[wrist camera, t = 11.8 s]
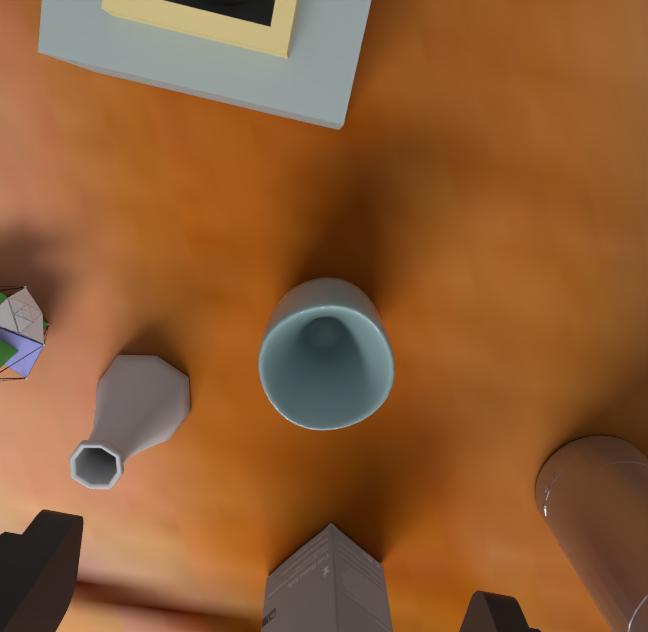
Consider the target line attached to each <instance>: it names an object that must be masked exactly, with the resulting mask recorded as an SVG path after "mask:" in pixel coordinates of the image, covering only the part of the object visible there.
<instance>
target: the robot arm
mask: <svg viewBox="0 0 648 632" xmlns="http://www.w3.org/2000/svg"><path fill="white" fill-rule="evenodd" d="M535 498H536V502H537V506H538V509H539V511H540V512H541V514H542V516H543V518H544V519H545V521H546V523H547V524H548V526H549V528H550V529H551V531H552V533H553V534H554V536H555V538H556V539H557V541H558V543H559V545H560V546H561V548H562V549H563V551H564V553H565V554H566V556H567V558H568V559H569V561H570V563H571V564H572V566H573V568H574V569H575V571H576V573H577V574H578V576H579V577H580V579H581V581H582V582H583V584H584V586H585V587H586V589H587V591H588V592H589V594H590V596H591V597H592V599H593V600H594V602H595V604H596V605H597V607H598V609H599V610H600V612H601V614H602V615H603V617H604V619H605V620H606V622H607V624H608V625H609V627H610V628H611V630H612V632H648V458H647V457H646V456H645V455H644V454H643V453H641V452H640V451H639V450H638V449H637V448H636V447H634V446H633V445H632V444H631V443H629V442H627V441H624V440H622V439H620V438H616V437H611V436H591V437H585V438H581V439H578V440H576V441H573V442H571V443H569V444H567V445H565V446H564V447H562V448H560V449H559V450H558V451H557V452H556V453H554V454H553V455H552V456H551V457H550V458H549V459H548V461H547V462H546V463H545V464H544V466H543V468H542V469H541V471H540V473H539V475H538V479H537V483H536V486H535ZM82 532H83V517H82V516H77V515H72V514H66V513H61V512H56V511H50V510H42V511H41V512H39V514H38V515H37V516H36V517H35V519H34V520H33V521H32V522H31V524H30V525H29V526H28V528H27V529H26V530H25V532H24V533H23V534H22V535H20V534H15V533H9V532H4V533H2V534H1V535H0V632H56V630H57V628H58V626H59V624H60V623H61V621H62V619H63V617H64V615H65V613H66V611H67V609H68V607H69V604H70V601H71V599H72V596H73V592H74V589H75V585H76V580H77V573H78V565H79V556H80V548H81V540H82ZM459 632H541V631H540V630H539V629H534V628H529V626H528V624H527V622H526V619H525V617H524V615H523V612H522V610H521V608H520V606H519V603H518V602H517V600H516V599H515V598H514V597H511V596H505V595H500V594H494V593H489V592H483V591H476V592H475V593H474V594H473V596H472V598H471V601H470V603H469V606H468V609H467V612H466V614H465V617H464V620H463V623H462V625H461V628H460V631H459Z"/></svg>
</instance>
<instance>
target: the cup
mask: <svg viewBox="0 0 648 632" xmlns="http://www.w3.org/2000/svg"><path fill="white" fill-rule="evenodd" d="M258 367H259V375H260V379H261V382H262V386H263V389H264V391H265V393H266V395H267V397H268V399H269V401H270V402H271V403H272V405H273V406H274V407H275V409H276V410H277V411H278V412H279V413H280V414H281V415H282V416H283V417H285V418H286V419H287V420H289V421H290V422H292V423H294V424H296V425H297V426H301V427H304V428H307V429H312V430H334V429H339V428H343V427H348V426H350V425H353V424H355V423H358V422H360V421H362V420H363V419H365V418H367V417H368V416H370V415H372V414H373V413H374V412H375V411H376V410H377V409H378V408H379V407H380V406H381V405H382V404H383V403H384V401H385V400H386V398H387V397H388V395H389V393H390V390H391V388H392V385H393V379H394V373H395V367H394V355H393V351H392V347H391V343H390V339H389V336H388V334H387V331H386V328H385V326H384V324H383V321H382V319H381V317H380V315H379V313H378V311H377V309H376V307H375V306H374V304H373V303H372V301H371V300H370V298H369V297H368V296H367V295H366V294H365V293H364V292H363V291H362V290H361V289H360V288H359V287H357V286H356V285H354V284H352V283H351V282H349V281H346V280H343V279H340V278H332V277H325V278H317V279H313V280H309V281H306V282H304V283H302V284H299V285H297V286H296V287H294V288H293V289H291V290H290V291H288V292H287V293H286V294H285V295H284V296H283V297H282V298H281V299H280V300H279V301H278V303H277V304H276V306H275V307H274V309H273V311H272V312H271V314H270V316H269V318H268V321H267V324H266V327H265V330H264V333H263V337H262V340H261V343H260V347H259V357H258Z"/></svg>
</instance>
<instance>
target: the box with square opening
mask: <svg viewBox="0 0 648 632" xmlns="http://www.w3.org/2000/svg"><path fill="white" fill-rule="evenodd" d="M370 4H371V0H246V1H244V2H242V3H240V4H236V5H231V6H220V5H215V4H212V3H209V2H207V1H205V0H42V7H41V20H40V34H39V47H38V52H39V53H42V54H45V55H48V56H51V57H54V58H57V59H60V60H62V61H65V62H68V63H71V64H74V65H77V66H80V67H82V68H85V69H88V70H91V71H94V72H97V73H101V74H105V75H109V76H113V77H117V78H122V79H126V80H130V81H134V82H139V83H143V84H147V85H151V86H155V87H160V88H164V89H168V90H172V91H176V92H181V93H185V94H189V95H193V96H197V97H202V98H206V99H210V100H214V101H219V102H223V103H227V104H231V105H235V106H240V107H244V108H248V109H252V110H256V111H261V112H265V113H269V114H273V115H277V116H282V117H286V118H290V119H294V120H298V121H303V122H307V123H311V124H315V125H320V126H324V127H328V128H332V129H336V130H339V129H340V128H341V127H342V126H343V125H344V121H345V116H346V112H347V107H348V103H349V98H350V94H351V89H352V85H353V80H354V76H355V71H356V67H357V62H358V58H359V53H360V49H361V44H362V40H363V35H364V31H365V26H366V22H367V17H368V13H369V8H370Z"/></svg>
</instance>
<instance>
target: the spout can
mask: <svg viewBox="0 0 648 632" xmlns="http://www.w3.org/2000/svg"><path fill="white" fill-rule="evenodd" d="M205 1H207V2H209V3H212V4H215V5H220V6H231V5H236V4H240V3H242V2H244V1H246V0H205Z"/></svg>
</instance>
